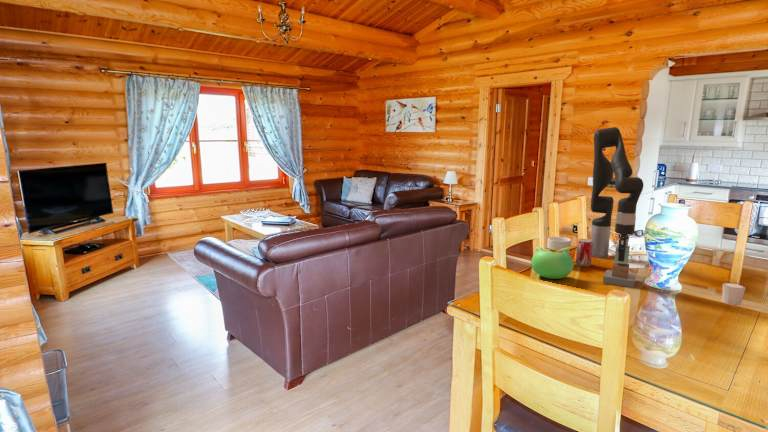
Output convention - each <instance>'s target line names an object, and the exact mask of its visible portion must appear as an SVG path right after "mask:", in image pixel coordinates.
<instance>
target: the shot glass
mask: <svg viewBox="0 0 768 432" xmlns="http://www.w3.org/2000/svg"><path fill="white" fill-rule="evenodd" d="M745 291H746V287H745V286H743V285H742V284H738V283H737V284H736V283H732V282H731V283H730V282H724V283H722V293H721V296H722V297H721V298H722V299H721V301H722V302H723V303H724V304H727V305H731V306H741V305H742V302H743V298H744V295H745Z"/></svg>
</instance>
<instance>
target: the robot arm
mask: <svg viewBox="0 0 768 432" xmlns="http://www.w3.org/2000/svg"><path fill="white" fill-rule="evenodd" d="M614 147H615V151H614V153H613V155H612V158H611V160H609V159H608V158H607V156H605V155H604V152H603V150H604V149H607V148H614ZM593 152H594V153H593V154H594V156H593V157H594V158H593V169H592V170H593V171H592V190H591V191H592V192H591V198H590V210H591V212H593V213H596V214H604V215H603V216H601V217H597V218H593V219H592V222H591V232H590V240H591V241H592V244H593V248H592V258H593V257H594V258H598V259H599V258H608V257H609V249H610V237H611V229H612V228H611V227H612V216H613V210H614V209H613V208H614V201H615V200H614V198H613V196H609V195H607V196H606V195H605V196H604V195H600V194H601V193H602V192H603V190H604V189H606V188H607V187H608V186H609V185H610V184H611V182H612V181H613V179H614V180H615V182H614V186H615V191H616V192H618V193H619V194H629V195H628V196H627V197H625V198H620V199H619V200H618V203H617V212H616V217H615V225H614V233H616V234H620V235H619V236H618V238H617V241H618V242H617V243H618V244H617V245H618V247H619V249H618V252H619V257H618V261H622V262H623V261H624V256H625V249H626V248H627V246H629V240H630V237H629V235H634V234H635V229H636V220H637V218H636V217H637V215H636V213H637V204H638V202H639V199H640V196H641V195H642V192H643V190H644V181H643V179H642V178H640V177H637V176H635V177H634V176H632V174H633V173H634V172H633V168H632V166H631V164H630V162H629V160H628V157H627V153H626V152H627V151H626V149H625V144H624V141H623V136H622V133H621V131H620V129H619V128H618V127H616V126H615V127H606V128H601V129H597V130H595V132H594V135H593ZM613 177H614V178H613ZM620 248H624V250H620Z"/></svg>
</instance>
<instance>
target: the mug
mask: <svg viewBox="0 0 768 432" xmlns="http://www.w3.org/2000/svg"><path fill="white" fill-rule="evenodd" d="M571 244H572V239H571V238H568V237H563V236H550V237H549V236H548V239H547V245H546V246H547V247H546V248H553V249H563V248H567V247H572V246H571ZM570 253H571V250H569V251H568V252H567V254H569V255H570Z"/></svg>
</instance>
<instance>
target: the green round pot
mask: <svg viewBox="0 0 768 432" xmlns="http://www.w3.org/2000/svg"><path fill="white" fill-rule="evenodd" d="M571 249H573V247H572V246H570V247H567V248H563V249H553V248H547V247H546V248H542V247H540V246H536V252H535V253H534V254H533V256H532V258H531V262H530V263H531V267H532V270H533V271H534V272H535V273H536V274H537V275H538V276H541V277H543V278H546V279H552V280H558V279H559V280H560V279H565V278H566V277H568V276H569V275H570V274H571V273H572V272H573V269H574V261H573V258H572V256H571V255H570V254H567V252H568V251H569V250H570V251H571Z"/></svg>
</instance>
